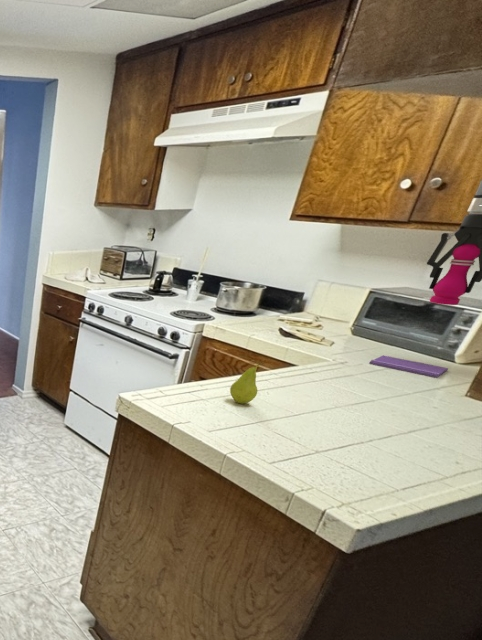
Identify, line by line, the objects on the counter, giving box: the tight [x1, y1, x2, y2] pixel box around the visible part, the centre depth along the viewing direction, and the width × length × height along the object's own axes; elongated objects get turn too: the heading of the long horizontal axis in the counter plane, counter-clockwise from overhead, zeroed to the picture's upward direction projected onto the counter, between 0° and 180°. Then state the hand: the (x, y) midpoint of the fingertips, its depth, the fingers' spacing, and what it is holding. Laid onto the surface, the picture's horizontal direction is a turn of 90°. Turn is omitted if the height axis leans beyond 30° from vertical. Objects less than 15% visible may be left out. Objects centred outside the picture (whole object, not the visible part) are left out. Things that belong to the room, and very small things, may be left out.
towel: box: [368, 354, 449, 379], centre depth 156 cm, size 16×14×1 cm
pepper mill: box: [429, 244, 481, 306], centre depth 147 cm, size 7×7×20 cm
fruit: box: [229, 361, 264, 405], centre depth 123 cm, size 6×6×12 cm
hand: (449, 290), depth 149 cm, fingers closed on pepper mill, 7 cm apart
